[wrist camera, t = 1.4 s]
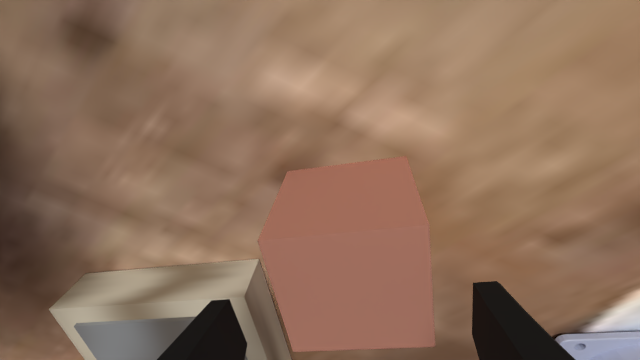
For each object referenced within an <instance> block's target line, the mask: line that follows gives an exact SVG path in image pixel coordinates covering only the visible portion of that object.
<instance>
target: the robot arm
mask: <svg viewBox="0 0 640 360" xmlns="http://www.w3.org/2000/svg"><path fill="white" fill-rule="evenodd" d="M472 335H473V339H474V342H475V346H476V349H477V353H478V356H479V360H640V331H634V332H609V333H583V334H563V335H560V336H558V337H557V338H556V339H555V340H554V339H553V338H552V337H551V336H550V335H549V334H548V333H547V332H546V331H545V330H544V329H543V328H542V327H541V326H540V325H539V324H538V323H537V322H536V321H535V320H534V319H533V318H532V317H531V316H530V315H529V314H528V313H527V312H526V311H525V310H524V309H523V308H522V307H521V306H520V305H519V303H518V302H517V301H516V300H515V299H514V298H513V297H512V296H511V295H510V294H509V293H508V292H507V291H506V290H505V289H504V287H503V286H502V285H501V284H500V283H498V282H497V281H493V282H478V283H473V318H472ZM246 349H247V342H246V339H245V337H244V334H243V332H242V329H241V327H240V324H239V322H238V319H237V317H236V314H235V312H234V309H233V307H232V304H231V302H230V299H225V300H211V301H210V302H209V304H208V305H207V306H206V307H205V308H204V309H203V310H202V311H201V312H200V313H199V314H198V315H197V316H196V317H195V319H194V320H193V321H192V322H191V323H190V324H189V325H188V326H187V327H186V328H185V330H184V331H183V332H182V333H181V334H180V335H179V336H178V337H177V338H176V339H175V341H174V342H173V343H172V344H171V345H170V346H169V347H168V348H167V349H166V350H165V351H164V352H163V353H162V355H161V356H160V357H159V358H158V359H157V360H245V355H246Z"/></svg>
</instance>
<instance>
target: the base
mask: <svg viewBox="0 0 640 360" xmlns="http://www.w3.org/2000/svg"><path fill="white" fill-rule="evenodd" d="M225 299H230V302H231V304H232V307H233V309H234V312H235V314H236V317H237V319H238V322H239V324H240V327H241V329H242V332H243V334H244V337H245V339H246V342H247V349H246V355H245V360H292V359H291V356H290V353H289V350H288V347H287V344H286V341H285V337H284V334H283V331H282V328H281V325H280V322H279V319H278V316H277V313H276V310H275V307H274V304H273V301H272V297H271V294H270V291H269V288H268V285H267V282H266V279H265V276H264V273H263V270H262V267H261V264H260V261H259V259H253V260H241V261H229V262H217V263H205V264H193V265H181V266H169V267H157V268H145V269H133V270H121V271H110V272H98V273H86V274H85V275H84V276H83V277H82V278H81V279H79V280H78V281H77V282H76V283H75V284H74V285H73V286H72V287H71V288H70V289H69V290H68V291H67V292H66V293H65V294H64V295H63V296H62V297H61V298H60V299H59V300H58V301H57V302H56V303H55V304H54V305H53V306H52V307H51V308H50V309H49V311H50V312H51V313H52V315H53V316H54V318H55V319H56V320H57V322H58V323H59V324H60V326H61V327H62V329H63V330H64V331H65V333H66V334H67V336H68V337H69V338H70V340H71V341H72V343H73V344H74V345H75V347H76V348H77V350H78V351H79V352H80V354H81V355H82V356H83V358H84V359H85V360H157V359H158V358H159V357H160V356H161V355H162V353H163V352H164V351H165V350H166V349H167V348H168V347H169V346H170V345H171V344H172V343H173V342H174V341H175V339H176V338H177V337H178V336H179V335H180V334H181V333H182V332H183V331H184V330H185V328H186V327H187V326H188V325H189V324H190V323H191V322H192V321H193V320H194V319H195V317H196V316H197V315H198V314H199V313H200V312H201V311H202V310H203V309H204V308H205V307H206V306H207V305H208V304H209V302H210V301H211V300H225Z"/></svg>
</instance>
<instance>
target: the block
mask: <svg viewBox="0 0 640 360" xmlns="http://www.w3.org/2000/svg"><path fill="white" fill-rule="evenodd" d="M258 243H259V246H260V249H261V252H262V255H263V258H264V262H265V265H266V268H267V271H268V274H269V277H270V280H271V284H272V287H273V290H274V293H275V296H276V299H277V302H278V306H279V309H280V312H281V315H282V318H283V321H284V324H285V328H286V331H287V334H288V337H289V340H290V343H291V346H292V350H293V352H303V351H331V350H359V349H387V348H416V347H435V330H434V310H433V291H432V271H431V251H430V231H429V223H428V220H427V217H426V214H425V211H424V208H423V205H422V202H421V199H420V196H419V193H418V190H417V187H416V184H415V181H414V178H413V175H412V172H411V169H410V166H409V163H408V160H407V157H406V156H404V157H396V158H388V159H381V160H373V161H365V162H357V163H349V164H341V165H333V166H325V167H318V168H310V169H302V170H294V171H287V174H286V176H285V178H284V181H283V183H282V185H281V188H280V190H279V192H278V195H277V197H276V199H275V202H274V204H273V206H272V209H271V211H270V213H269V216H268V218H267V220H266V223H265V225H264V227H263V230H262V232H261V234H260V237H259V239H258Z"/></svg>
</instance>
